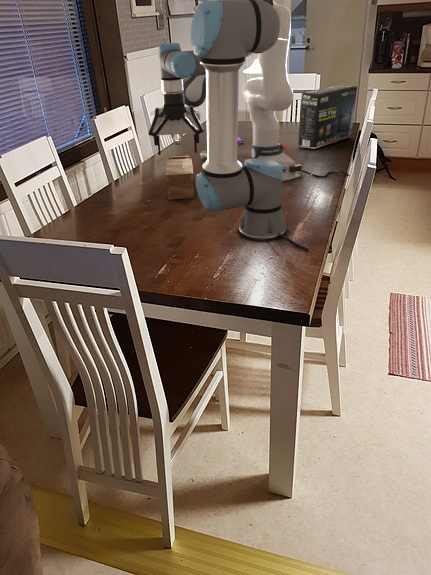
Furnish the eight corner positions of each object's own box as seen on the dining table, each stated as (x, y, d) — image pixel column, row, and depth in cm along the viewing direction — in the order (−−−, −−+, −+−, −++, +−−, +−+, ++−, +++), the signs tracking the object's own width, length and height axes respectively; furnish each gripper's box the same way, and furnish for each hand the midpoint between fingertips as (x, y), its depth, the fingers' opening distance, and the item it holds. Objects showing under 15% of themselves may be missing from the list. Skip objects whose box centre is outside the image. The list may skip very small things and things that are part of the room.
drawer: (170, 171, 208) (168, 153, 204) (190, 170, 208) (189, 152, 204) (169, 189, 186) (167, 170, 182) (192, 188, 187) (190, 168, 183)
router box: (314, 151, 231) (318, 94, 217) (296, 148, 237) (299, 92, 224) (352, 138, 251) (358, 85, 238) (335, 135, 258) (340, 83, 245)
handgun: (222, 137, 264) (222, 134, 263) (235, 136, 265) (235, 132, 264) (230, 145, 246) (230, 142, 245) (244, 144, 247) (244, 140, 246)
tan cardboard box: (168, 182, 197) (166, 159, 192) (192, 181, 197) (191, 158, 192) (168, 199, 179) (165, 174, 174) (194, 198, 179) (192, 173, 174)
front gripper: (207, 89, 166) (209, 148, 177) (138, 92, 164) (145, 152, 175) (208, 92, 159) (211, 153, 170) (136, 95, 158) (144, 157, 169)
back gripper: (199, 108, 195) (201, 141, 202) (151, 110, 193) (154, 144, 201) (200, 111, 189) (202, 145, 196) (150, 113, 188) (154, 147, 195)
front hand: (177, 153), depth 173 cm, fingers open, 13 cm apart
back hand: (177, 144), depth 198 cm, fingers closed
